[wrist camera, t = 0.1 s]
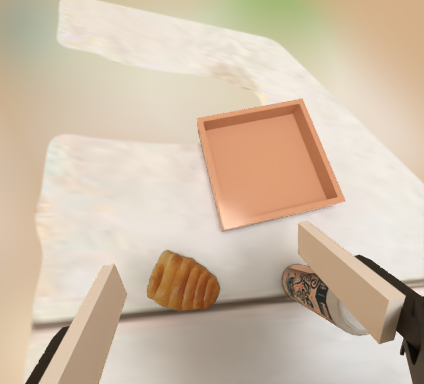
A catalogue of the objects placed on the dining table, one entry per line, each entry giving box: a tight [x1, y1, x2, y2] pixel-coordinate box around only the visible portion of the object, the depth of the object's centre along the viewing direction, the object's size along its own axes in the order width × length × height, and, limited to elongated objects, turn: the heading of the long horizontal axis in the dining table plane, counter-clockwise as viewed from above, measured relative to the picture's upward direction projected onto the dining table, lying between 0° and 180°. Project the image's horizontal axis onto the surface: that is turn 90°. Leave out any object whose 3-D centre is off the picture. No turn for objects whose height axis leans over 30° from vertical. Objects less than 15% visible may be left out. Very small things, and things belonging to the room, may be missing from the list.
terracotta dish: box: [197, 99, 345, 232], centre depth 31 cm, size 18×18×4 cm
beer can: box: [283, 264, 370, 336], centre depth 22 cm, size 5×5×12 cm
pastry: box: [147, 251, 220, 311], centre depth 26 cm, size 9×7×4 cm
